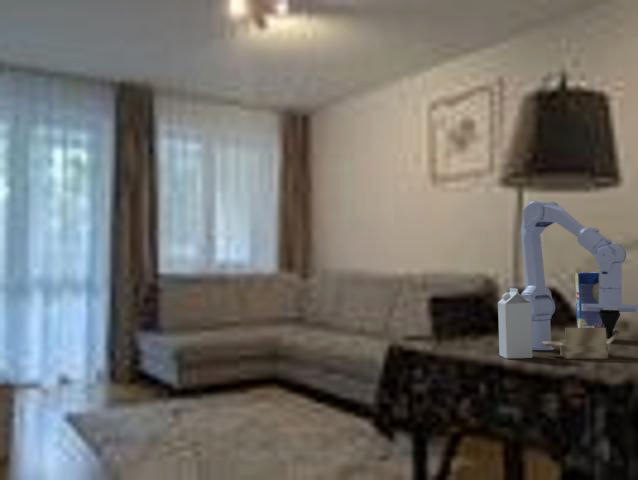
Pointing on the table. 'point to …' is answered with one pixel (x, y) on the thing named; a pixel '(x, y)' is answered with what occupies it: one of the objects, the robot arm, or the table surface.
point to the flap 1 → (585, 336)
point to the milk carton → (514, 326)
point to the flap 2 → (612, 337)
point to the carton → (579, 350)
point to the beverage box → (587, 299)
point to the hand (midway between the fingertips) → (610, 338)
